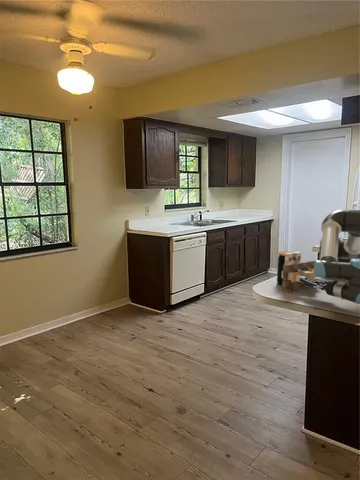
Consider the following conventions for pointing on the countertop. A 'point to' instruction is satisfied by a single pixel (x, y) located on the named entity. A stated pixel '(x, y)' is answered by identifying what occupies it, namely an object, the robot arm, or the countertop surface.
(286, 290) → the button panel
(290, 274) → the button
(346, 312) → the countertop surface
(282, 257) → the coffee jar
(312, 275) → the button middle
